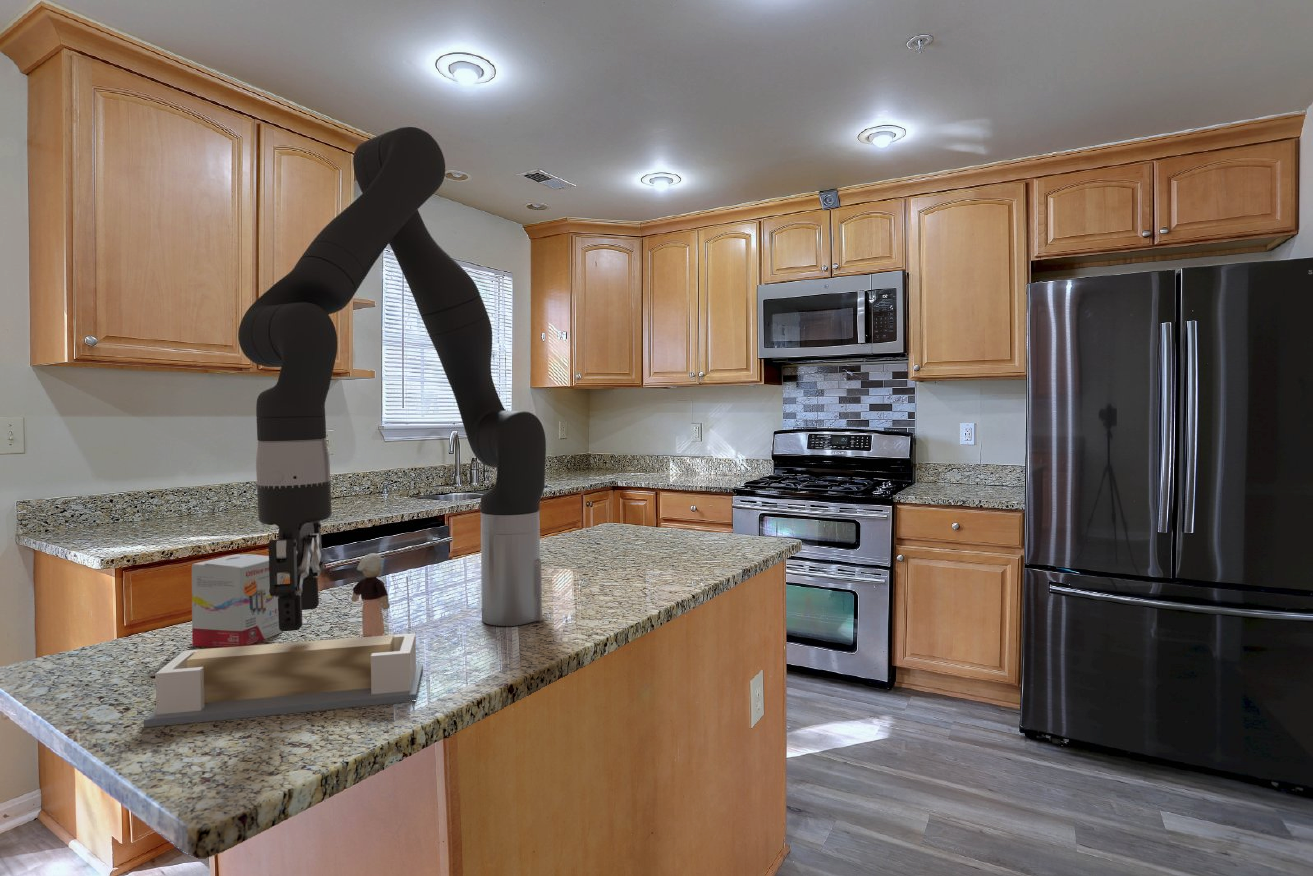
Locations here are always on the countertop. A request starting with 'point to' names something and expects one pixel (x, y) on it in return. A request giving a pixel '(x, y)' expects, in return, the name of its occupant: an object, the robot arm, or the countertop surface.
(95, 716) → the countertop surface
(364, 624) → the grandmother figurine
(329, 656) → the oak slat
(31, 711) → the countertop surface
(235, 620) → the ink box
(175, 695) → the end-cap board
